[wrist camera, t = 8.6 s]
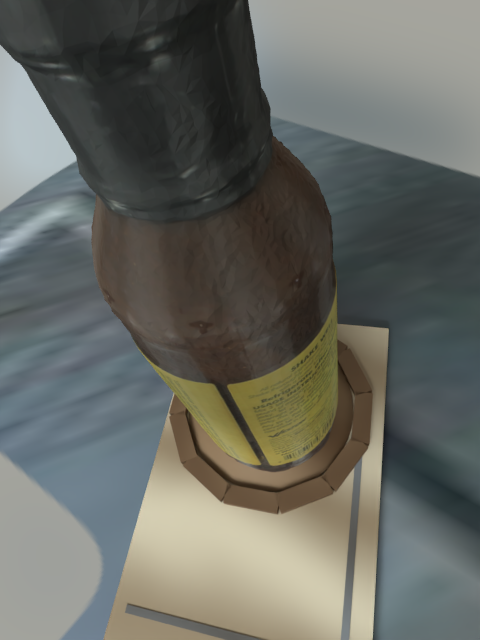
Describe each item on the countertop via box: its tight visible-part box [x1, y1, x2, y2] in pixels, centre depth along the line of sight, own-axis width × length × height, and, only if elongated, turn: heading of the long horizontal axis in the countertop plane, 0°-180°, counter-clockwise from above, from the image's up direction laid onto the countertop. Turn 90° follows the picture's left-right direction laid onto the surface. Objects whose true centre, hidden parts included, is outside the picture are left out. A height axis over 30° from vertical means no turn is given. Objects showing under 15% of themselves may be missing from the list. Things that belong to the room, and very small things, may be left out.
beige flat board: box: [103, 324, 389, 640], centre depth 21 cm, size 17×10×1 cm, turn 169°
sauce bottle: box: [0, 0, 338, 472], centre depth 14 cm, size 6×6×20 cm
